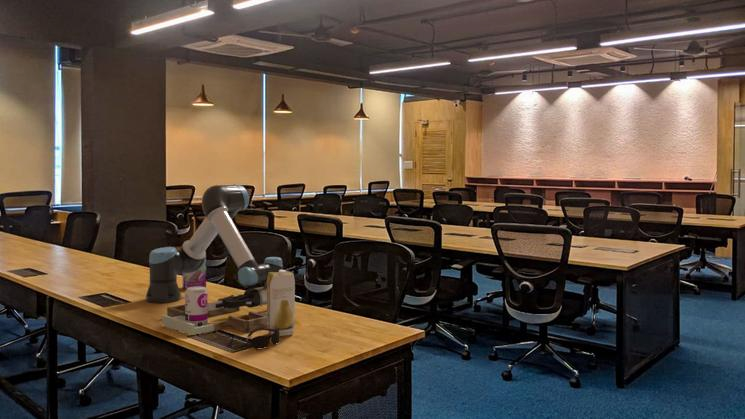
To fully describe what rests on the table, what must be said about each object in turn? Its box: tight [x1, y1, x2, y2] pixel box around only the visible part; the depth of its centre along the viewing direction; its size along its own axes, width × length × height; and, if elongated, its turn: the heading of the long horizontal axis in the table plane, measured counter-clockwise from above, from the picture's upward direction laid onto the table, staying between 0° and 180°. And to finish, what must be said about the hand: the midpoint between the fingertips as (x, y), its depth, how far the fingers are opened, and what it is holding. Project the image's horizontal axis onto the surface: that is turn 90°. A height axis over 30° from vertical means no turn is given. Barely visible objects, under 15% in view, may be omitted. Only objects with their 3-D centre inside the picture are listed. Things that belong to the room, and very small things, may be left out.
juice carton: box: [266, 269, 296, 337], centre depth 222 cm, size 9×8×24 cm
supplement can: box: [184, 286, 209, 327], centre depth 231 cm, size 8×8×15 cm
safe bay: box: [161, 314, 215, 336], centre depth 229 cm, size 9×20×4 cm, turn 49°
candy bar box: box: [181, 257, 207, 290], centre depth 304 cm, size 11×5×16 cm, turn 115°
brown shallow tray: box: [166, 304, 267, 333], centre depth 242 cm, size 27×41×4 cm, turn 49°
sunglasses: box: [230, 328, 280, 349], centre depth 212 cm, size 14×16×5 cm
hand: (207, 307), depth 234 cm, fingers closed
